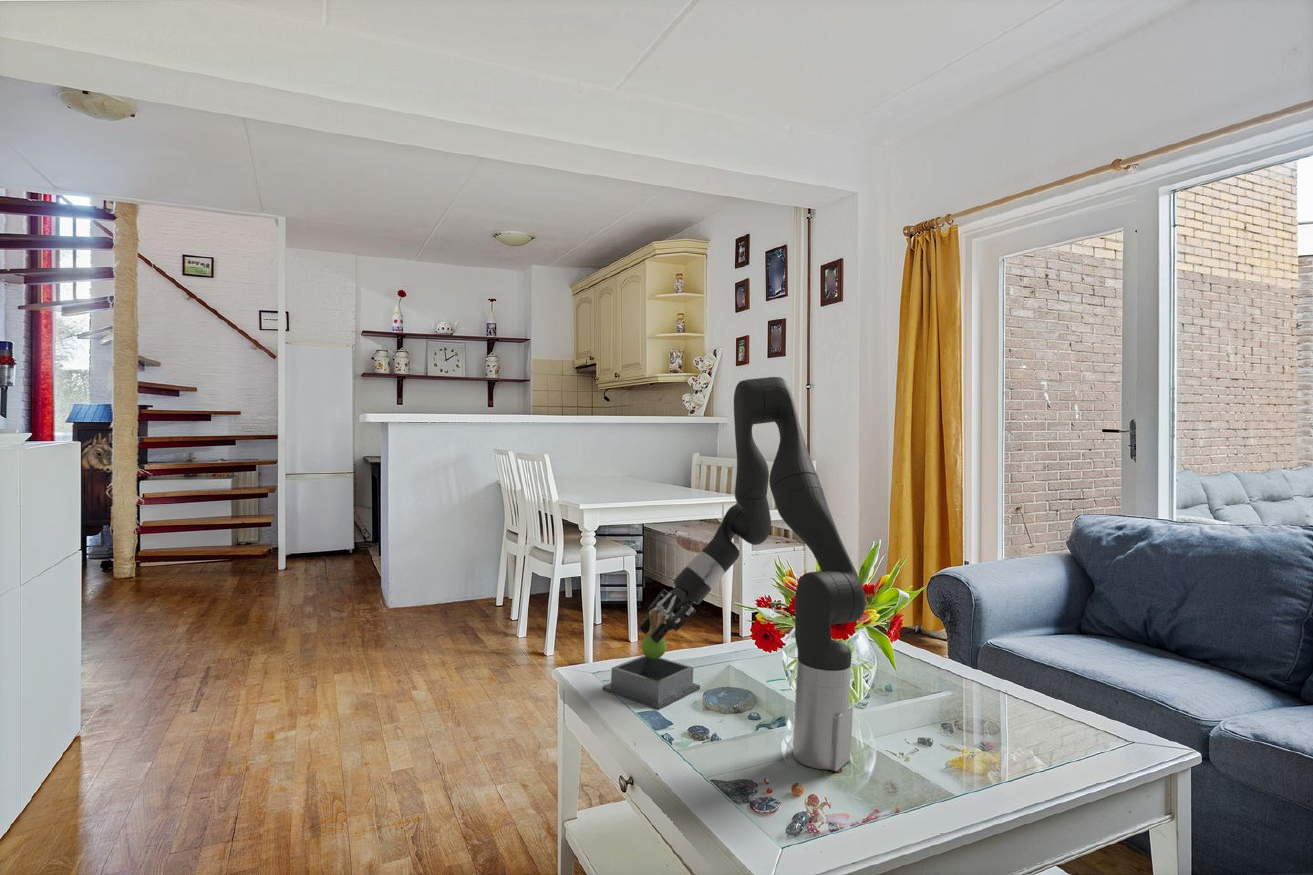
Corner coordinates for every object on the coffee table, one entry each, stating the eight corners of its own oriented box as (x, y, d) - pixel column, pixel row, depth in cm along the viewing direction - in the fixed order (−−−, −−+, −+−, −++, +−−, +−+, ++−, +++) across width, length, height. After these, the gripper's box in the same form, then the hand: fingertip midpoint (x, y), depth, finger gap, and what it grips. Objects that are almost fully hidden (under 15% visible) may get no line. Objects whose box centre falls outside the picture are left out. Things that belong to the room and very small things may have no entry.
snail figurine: (648, 665, 155) (650, 608, 155) (637, 655, 161) (639, 600, 160) (671, 662, 157) (674, 606, 157) (660, 652, 163) (662, 599, 163)
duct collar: (700, 688, 161) (701, 667, 161) (659, 709, 149) (660, 685, 149) (645, 671, 170) (646, 651, 170) (602, 689, 158) (603, 667, 158)
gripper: (675, 559, 168) (624, 615, 164) (703, 573, 155) (649, 634, 150) (695, 581, 170) (645, 636, 166) (725, 596, 157) (671, 657, 153)
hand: (647, 635), depth 158 cm, fingers closed on snail figurine, 6 cm apart
